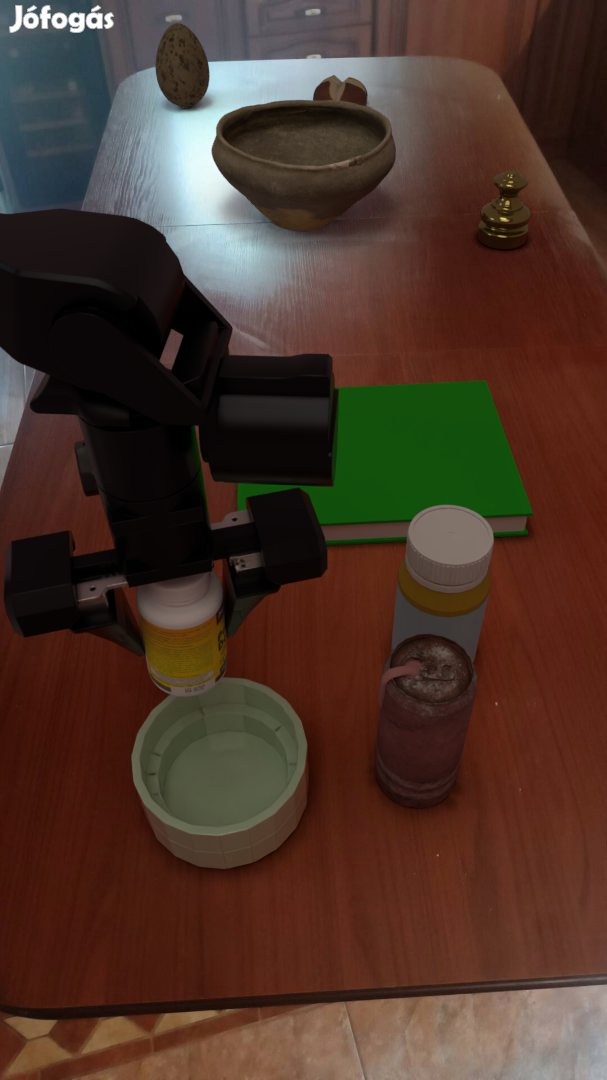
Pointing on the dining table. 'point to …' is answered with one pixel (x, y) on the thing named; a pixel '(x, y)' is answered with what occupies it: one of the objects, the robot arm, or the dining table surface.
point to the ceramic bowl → (222, 773)
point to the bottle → (444, 576)
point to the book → (414, 463)
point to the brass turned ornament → (505, 214)
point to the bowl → (304, 158)
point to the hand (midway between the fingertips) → (186, 641)
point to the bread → (341, 90)
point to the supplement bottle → (184, 633)
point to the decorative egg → (182, 67)
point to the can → (423, 718)
